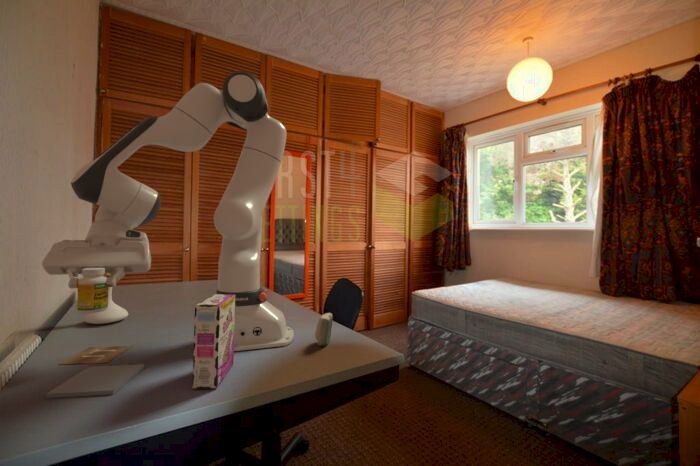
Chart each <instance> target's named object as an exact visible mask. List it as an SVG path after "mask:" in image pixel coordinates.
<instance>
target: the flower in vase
mask: <svg viewBox="0 0 700 466" xmlns="http://www.w3.org/2000/svg"><path fill="white" fill-rule="evenodd" d="M105 274H106V275H108V276H109V277H113V276H114V275H115V274H116V273H105ZM105 274H104V275H105ZM126 274H127V273H125V276H126ZM112 291H113V287H108V307H107V309H106V310H104V311H101V312H96V313H86V315H85V316H84V318H83V321H84V322H85V323H87V324H92V325H93V324H94V325H101V324H110V323H114V322H118V321H121V320H123V319H125V318H127V317H128V316H129V312H128V311H127V310H126V309H125V308H124V307H121V306H120V305H118V304H116V303H115V302H114V301H113V298H112V295H113V294H112V293H113V292H112Z"/></svg>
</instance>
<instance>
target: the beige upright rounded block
mask: <svg viewBox="0 0 700 466" xmlns="http://www.w3.org/2000/svg"><path fill="white" fill-rule="evenodd" d="M333 317H334V316H333V313H331V312H326V313H324V314H322V315H321V316H320V317H319V319H318V322H317V324H316V328H315V332H314V337H315V340H316V342H317V343H316V345H317V346H318V347H321V348H326V347H327V346H328V345H329V343H330V342H331V337H332V327H333Z"/></svg>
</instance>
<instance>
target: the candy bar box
mask: <svg viewBox="0 0 700 466" xmlns="http://www.w3.org/2000/svg"><path fill="white" fill-rule="evenodd" d="M235 296H236V295H233V294H216V293H215V294H213V295H211V296H210V297H208V298H207V299H204V300H203V301H200V302H198V303H197V304H195V305H194V322H193V323H194V331H193V332H194V333H193V360H192V363H193V364H192V390H215V389H218V388H219V386H220V385H221V382H222V381H223V380H224V378H225V377H226V375H227V374H228V373H229V371H230V369H231V368H232V367H233V366H234V359H235V357H234V356H235V351H234V325H235Z"/></svg>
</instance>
